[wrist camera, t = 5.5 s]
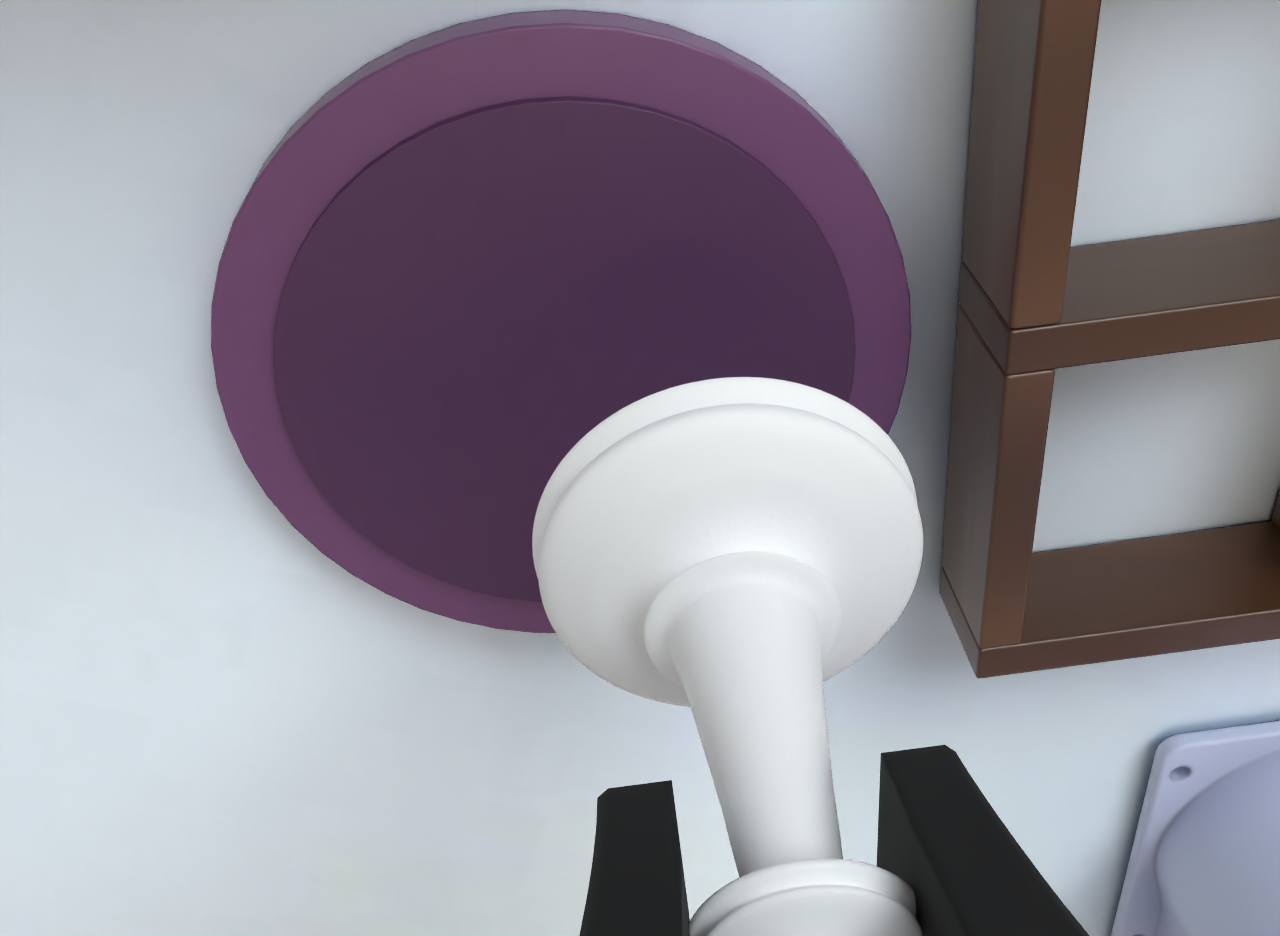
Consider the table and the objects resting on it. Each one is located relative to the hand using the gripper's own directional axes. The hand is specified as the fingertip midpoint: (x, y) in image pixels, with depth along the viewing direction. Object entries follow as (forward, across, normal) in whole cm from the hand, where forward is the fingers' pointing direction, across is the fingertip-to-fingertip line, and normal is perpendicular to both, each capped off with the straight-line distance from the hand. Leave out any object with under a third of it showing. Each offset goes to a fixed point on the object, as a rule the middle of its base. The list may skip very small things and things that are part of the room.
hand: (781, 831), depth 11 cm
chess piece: (+5, 0, 0) cm, 5 cm away
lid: (+10, +2, 0) cm, 11 cm away
